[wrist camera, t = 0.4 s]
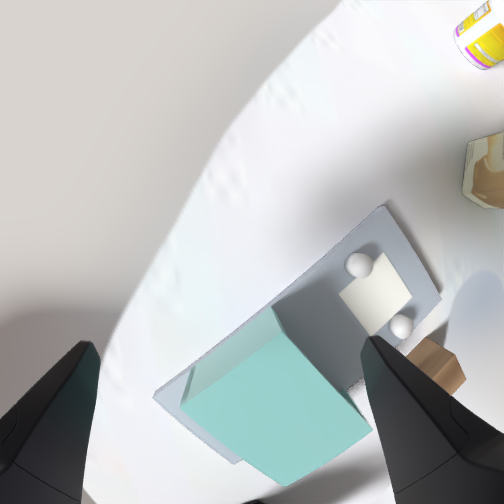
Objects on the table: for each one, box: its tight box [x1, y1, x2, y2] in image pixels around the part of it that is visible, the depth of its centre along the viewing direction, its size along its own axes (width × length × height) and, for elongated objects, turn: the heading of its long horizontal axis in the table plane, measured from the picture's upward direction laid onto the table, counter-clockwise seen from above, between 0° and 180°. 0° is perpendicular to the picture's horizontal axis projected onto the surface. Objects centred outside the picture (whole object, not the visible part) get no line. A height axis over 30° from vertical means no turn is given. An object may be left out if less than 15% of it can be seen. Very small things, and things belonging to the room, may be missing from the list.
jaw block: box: [406, 337, 466, 396], centre depth 22 cm, size 4×4×5 cm
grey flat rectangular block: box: [152, 206, 442, 464], centre depth 22 cm, size 10×25×3 cm, turn 130°
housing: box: [179, 306, 373, 487], centre depth 19 cm, size 11×8×6 cm
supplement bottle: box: [454, 0, 504, 69], centre depth 16 cm, size 7×7×13 cm
